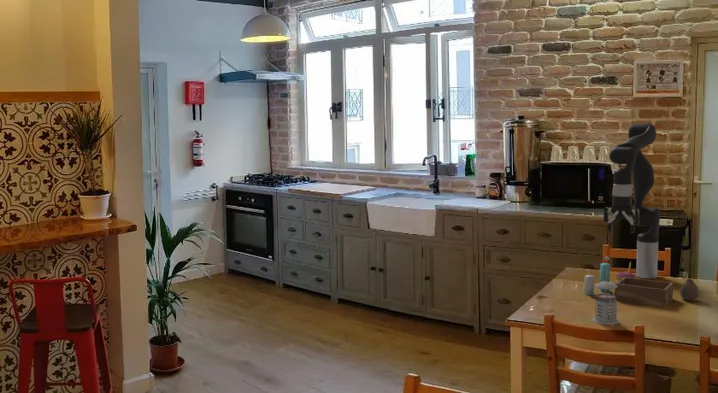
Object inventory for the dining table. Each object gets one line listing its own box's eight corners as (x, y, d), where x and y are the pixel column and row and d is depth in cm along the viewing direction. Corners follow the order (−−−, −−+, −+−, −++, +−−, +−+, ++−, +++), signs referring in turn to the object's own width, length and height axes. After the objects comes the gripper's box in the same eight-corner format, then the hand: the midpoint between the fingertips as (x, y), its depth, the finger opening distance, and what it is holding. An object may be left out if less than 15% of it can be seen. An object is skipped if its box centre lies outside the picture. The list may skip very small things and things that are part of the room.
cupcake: (632, 284, 325) (633, 259, 324) (638, 289, 317) (638, 263, 315) (613, 284, 326) (613, 259, 325) (618, 289, 318) (618, 263, 316)
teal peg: (601, 289, 319) (602, 262, 317) (610, 290, 317) (611, 263, 315) (598, 291, 316) (599, 264, 314) (607, 292, 313) (608, 265, 312)
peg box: (623, 292, 312) (624, 276, 311) (672, 298, 301) (673, 282, 300) (614, 299, 301) (615, 283, 300) (664, 306, 289) (665, 290, 289)
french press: (613, 316, 278) (614, 253, 275) (625, 325, 266) (627, 260, 263) (588, 317, 277) (589, 254, 274) (599, 326, 266) (600, 260, 263)
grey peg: (586, 292, 314) (586, 274, 313) (595, 293, 312) (595, 275, 311) (583, 294, 311) (583, 276, 310) (592, 295, 308) (592, 277, 307)
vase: (700, 302, 295) (700, 281, 294) (682, 301, 296) (683, 281, 295) (695, 298, 302) (696, 277, 301) (678, 297, 303) (679, 277, 302)
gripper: (642, 194, 298) (640, 232, 300) (607, 192, 306) (606, 229, 308) (637, 196, 292) (636, 235, 294) (602, 194, 300) (601, 232, 302)
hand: (621, 232), depth 301 cm, fingers open, 8 cm apart
